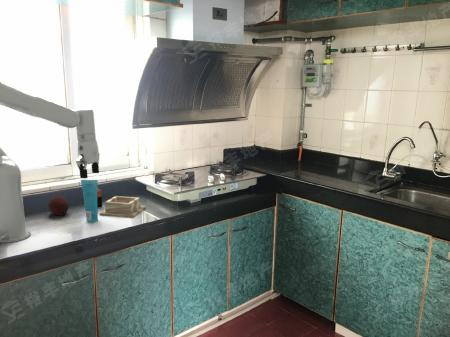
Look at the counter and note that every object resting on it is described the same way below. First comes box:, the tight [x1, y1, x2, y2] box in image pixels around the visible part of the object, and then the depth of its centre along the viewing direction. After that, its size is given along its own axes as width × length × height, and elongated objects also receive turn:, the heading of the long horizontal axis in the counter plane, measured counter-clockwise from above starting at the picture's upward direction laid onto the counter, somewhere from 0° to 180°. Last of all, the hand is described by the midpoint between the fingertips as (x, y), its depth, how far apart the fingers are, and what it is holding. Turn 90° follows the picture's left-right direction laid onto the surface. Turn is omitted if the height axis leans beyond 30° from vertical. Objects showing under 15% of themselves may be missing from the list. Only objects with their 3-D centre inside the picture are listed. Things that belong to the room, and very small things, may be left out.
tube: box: [80, 179, 99, 223], centre depth 172 cm, size 7×5×19 cm, turn 96°
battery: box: [97, 187, 103, 209], centre depth 192 cm, size 4×7×10 cm, turn 136°
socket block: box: [98, 195, 146, 219], centre depth 186 cm, size 15×17×6 cm
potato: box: [47, 195, 70, 216], centre depth 181 cm, size 9×12×9 cm
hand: (90, 175), depth 170 cm, fingers open, 9 cm apart
